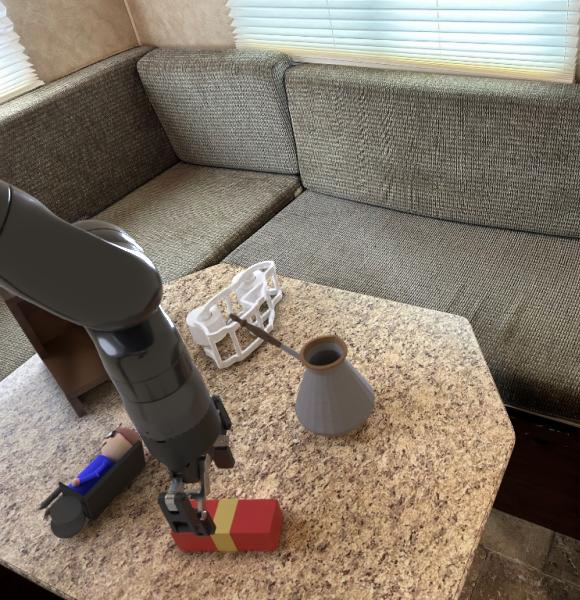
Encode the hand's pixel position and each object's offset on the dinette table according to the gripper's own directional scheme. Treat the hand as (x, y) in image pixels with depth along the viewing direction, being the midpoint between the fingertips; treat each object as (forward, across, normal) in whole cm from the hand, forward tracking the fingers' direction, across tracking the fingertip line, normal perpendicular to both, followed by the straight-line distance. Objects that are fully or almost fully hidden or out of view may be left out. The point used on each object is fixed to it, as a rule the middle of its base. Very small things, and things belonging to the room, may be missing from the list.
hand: (217, 497), depth 70 cm
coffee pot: (+8, -20, +6) cm, 23 cm away
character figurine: (+8, -5, -18) cm, 21 cm away
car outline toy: (+8, -39, -8) cm, 40 cm away
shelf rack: (+8, -30, -29) cm, 43 cm away
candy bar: (+7, 0, 0) cm, 7 cm away
